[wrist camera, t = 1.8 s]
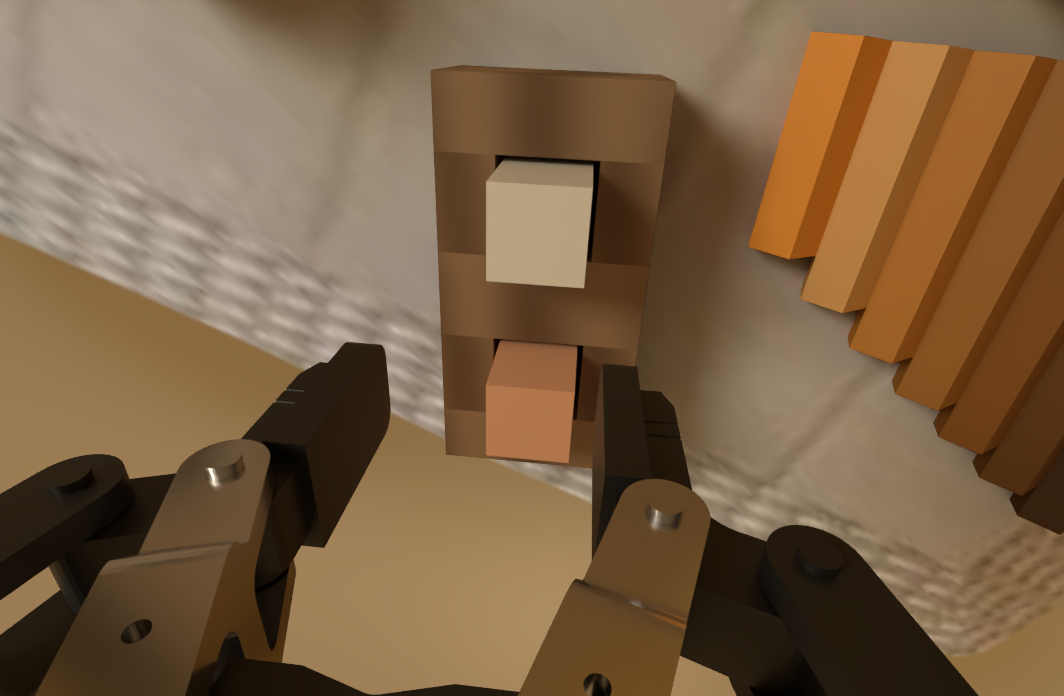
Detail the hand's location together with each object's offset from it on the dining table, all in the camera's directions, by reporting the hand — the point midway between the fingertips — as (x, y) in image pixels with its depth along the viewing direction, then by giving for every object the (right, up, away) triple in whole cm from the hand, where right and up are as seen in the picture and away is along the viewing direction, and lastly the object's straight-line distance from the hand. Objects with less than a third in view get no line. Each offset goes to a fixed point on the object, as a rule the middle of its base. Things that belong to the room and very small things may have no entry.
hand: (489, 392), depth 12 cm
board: (+2, +6, +21) cm, 22 cm away
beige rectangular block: (+2, +8, +15) cm, 17 cm away
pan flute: (+25, +3, +21) cm, 32 cm away
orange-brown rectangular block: (+1, 0, +19) cm, 19 cm away
